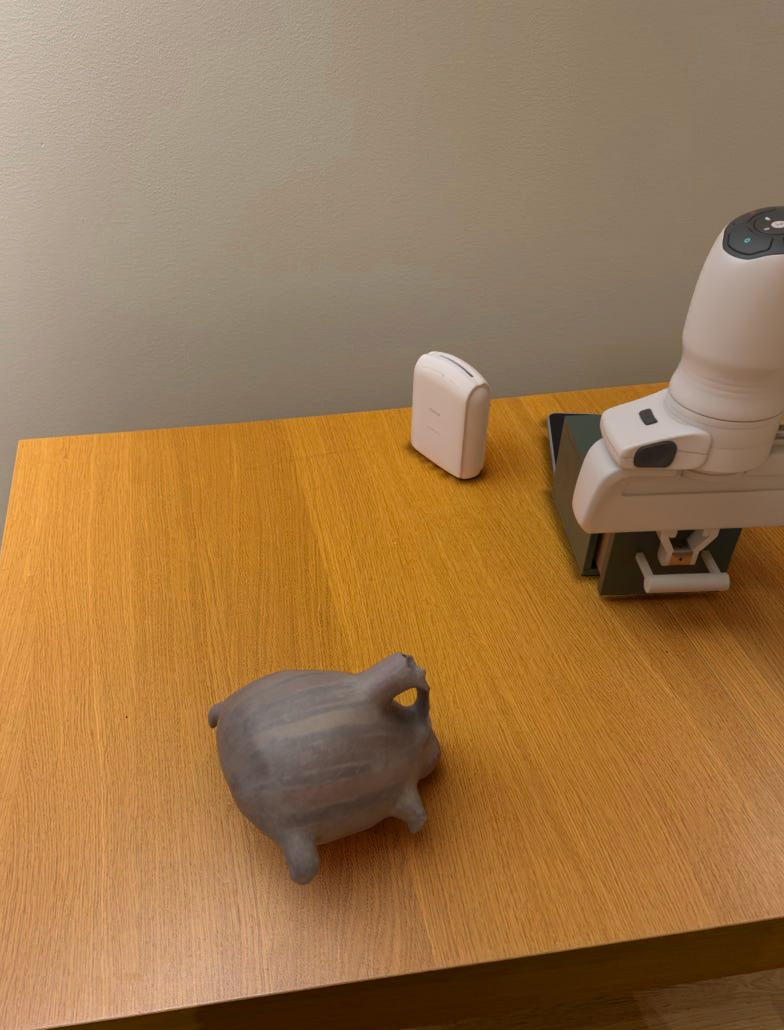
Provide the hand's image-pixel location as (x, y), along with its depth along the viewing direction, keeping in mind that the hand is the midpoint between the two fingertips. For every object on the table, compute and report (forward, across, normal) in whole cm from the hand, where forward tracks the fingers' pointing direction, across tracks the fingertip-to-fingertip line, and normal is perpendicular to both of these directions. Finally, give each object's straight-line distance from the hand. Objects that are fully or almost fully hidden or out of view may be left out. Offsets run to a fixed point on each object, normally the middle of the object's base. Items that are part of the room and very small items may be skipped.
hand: (675, 561), depth 84 cm
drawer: (+5, 0, -5) cm, 7 cm away
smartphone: (+6, +1, -28) cm, 28 cm away
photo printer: (+6, +17, -28) cm, 33 cm away
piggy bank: (+6, +32, +21) cm, 39 cm away
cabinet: (+6, 0, -12) cm, 14 cm away
